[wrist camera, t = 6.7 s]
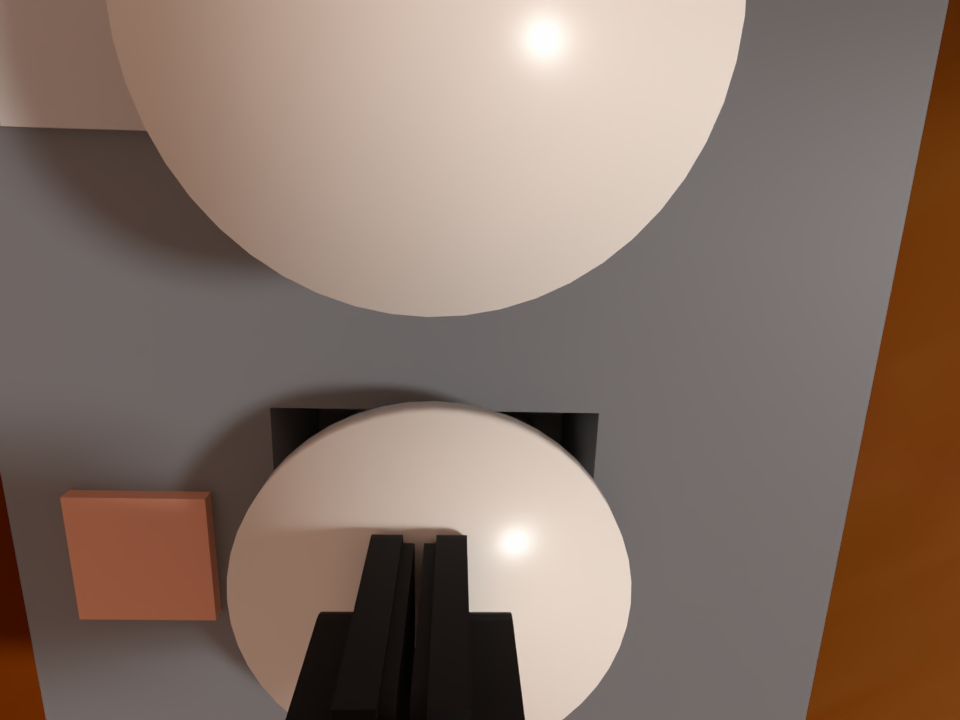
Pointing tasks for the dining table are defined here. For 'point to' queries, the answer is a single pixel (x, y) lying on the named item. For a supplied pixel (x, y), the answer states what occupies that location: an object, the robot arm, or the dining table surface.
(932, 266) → the dining table surface
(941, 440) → the dining table surface
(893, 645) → the dining table surface
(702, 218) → the button board
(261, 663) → the button
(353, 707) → the robot arm
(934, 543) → the dining table surface
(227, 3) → the button middle
